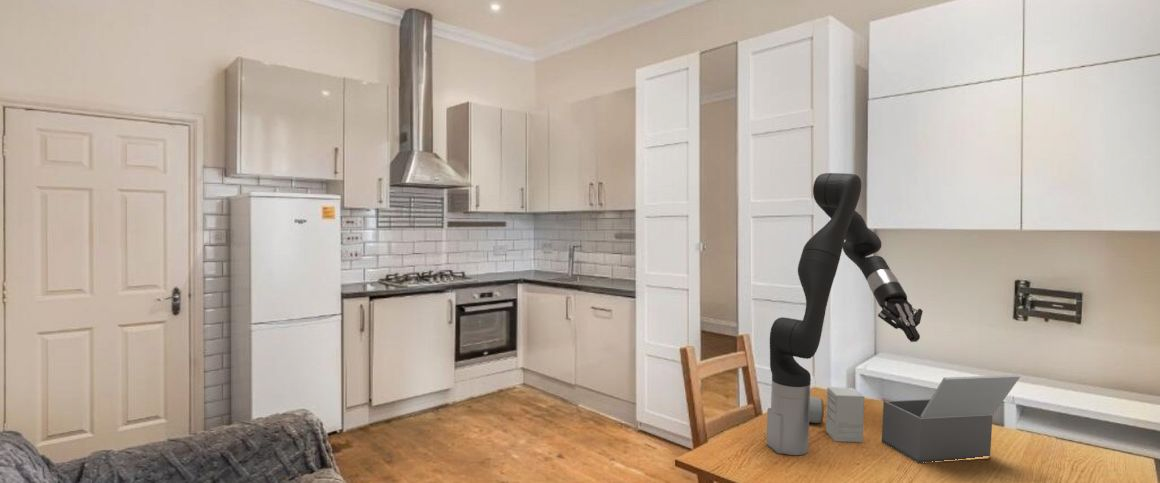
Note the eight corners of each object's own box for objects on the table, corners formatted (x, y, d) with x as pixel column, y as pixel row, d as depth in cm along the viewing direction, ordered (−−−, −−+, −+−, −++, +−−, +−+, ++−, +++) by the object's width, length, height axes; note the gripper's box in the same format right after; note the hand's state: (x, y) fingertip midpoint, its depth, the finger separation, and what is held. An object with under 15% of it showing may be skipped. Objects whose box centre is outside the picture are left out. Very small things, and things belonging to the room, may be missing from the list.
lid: (920, 415, 137) (921, 417, 137) (943, 377, 130) (945, 379, 130) (991, 412, 141) (993, 414, 140) (1018, 374, 134) (1020, 376, 133)
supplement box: (852, 432, 157) (854, 387, 156) (863, 443, 149) (865, 396, 149) (824, 431, 158) (826, 386, 157) (834, 441, 150) (836, 394, 149)
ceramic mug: (824, 427, 160) (825, 400, 160) (793, 424, 162) (794, 397, 162) (819, 415, 170) (820, 390, 170) (790, 412, 173) (791, 387, 172)
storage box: (918, 463, 138) (920, 418, 137) (881, 442, 150) (883, 401, 150) (990, 458, 141) (992, 415, 140) (947, 438, 154) (949, 398, 153)
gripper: (871, 280, 160) (901, 333, 149) (913, 280, 162) (945, 332, 151) (859, 296, 165) (886, 348, 154) (899, 296, 168) (929, 347, 156)
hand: (915, 340), depth 152 cm, fingers closed
